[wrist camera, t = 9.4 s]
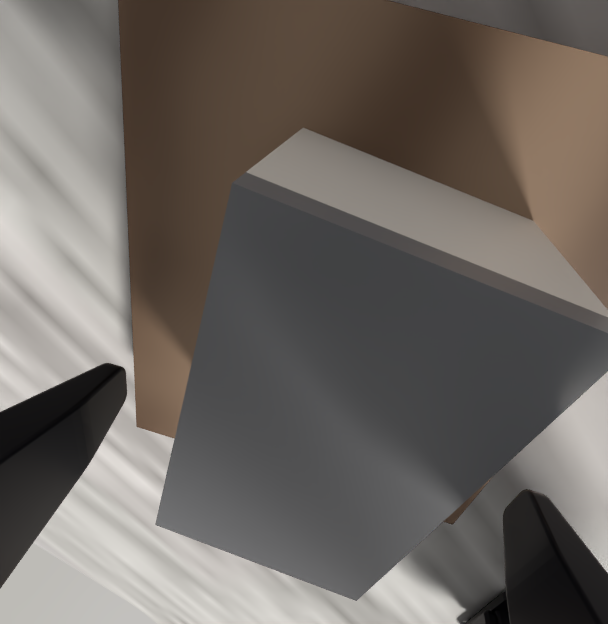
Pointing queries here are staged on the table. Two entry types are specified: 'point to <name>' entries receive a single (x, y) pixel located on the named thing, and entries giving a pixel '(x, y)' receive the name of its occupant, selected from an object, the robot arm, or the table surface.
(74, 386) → the robot arm
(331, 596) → the table surface
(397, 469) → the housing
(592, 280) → the walnut stand
